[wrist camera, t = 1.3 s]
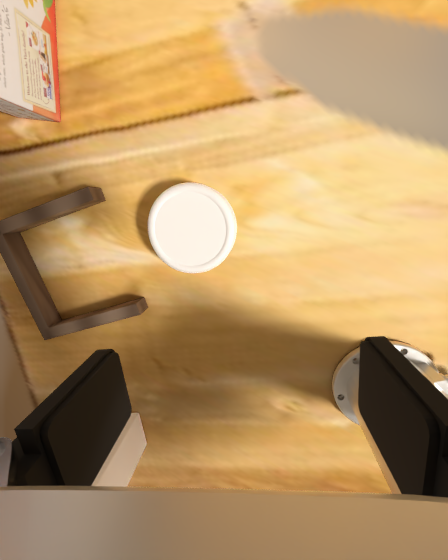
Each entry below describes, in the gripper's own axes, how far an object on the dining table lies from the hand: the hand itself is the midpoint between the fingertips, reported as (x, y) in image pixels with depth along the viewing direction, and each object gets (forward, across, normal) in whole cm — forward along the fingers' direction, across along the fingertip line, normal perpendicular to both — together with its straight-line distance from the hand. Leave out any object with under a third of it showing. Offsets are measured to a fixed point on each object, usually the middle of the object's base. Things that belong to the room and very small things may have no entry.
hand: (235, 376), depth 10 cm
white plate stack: (+24, +6, -4) cm, 25 cm away
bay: (+24, +23, -1) cm, 33 cm away
